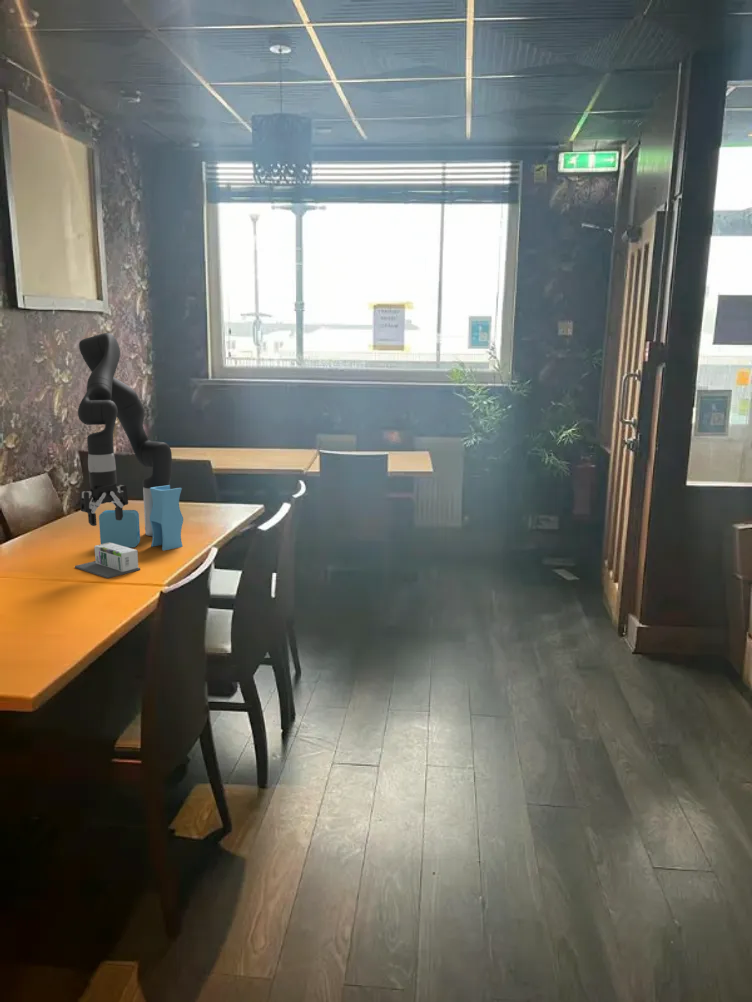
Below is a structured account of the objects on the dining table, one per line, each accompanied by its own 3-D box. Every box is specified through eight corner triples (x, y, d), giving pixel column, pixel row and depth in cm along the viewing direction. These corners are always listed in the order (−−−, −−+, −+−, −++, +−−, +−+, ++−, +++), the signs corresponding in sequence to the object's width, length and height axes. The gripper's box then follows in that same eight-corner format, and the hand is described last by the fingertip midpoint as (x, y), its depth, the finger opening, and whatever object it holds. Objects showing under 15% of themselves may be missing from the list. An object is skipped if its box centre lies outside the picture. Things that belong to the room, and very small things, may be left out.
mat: (74, 567, 222) (74, 565, 221) (107, 560, 230) (107, 558, 230) (107, 578, 211) (107, 576, 211) (140, 569, 220) (140, 567, 220)
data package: (140, 544, 250) (138, 509, 248) (137, 547, 245) (135, 512, 243) (104, 544, 249) (101, 510, 246) (100, 548, 244) (98, 512, 242)
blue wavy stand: (184, 546, 248) (182, 488, 244) (163, 550, 242) (160, 490, 238) (171, 542, 253) (169, 484, 249) (150, 546, 247) (148, 487, 243)
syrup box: (122, 572, 215) (94, 563, 224) (139, 568, 220) (111, 559, 228) (121, 553, 214) (92, 545, 223) (138, 549, 219) (110, 541, 227)
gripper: (115, 464, 223) (119, 516, 226) (72, 470, 211) (77, 525, 215) (131, 467, 218) (134, 520, 222) (87, 473, 207) (92, 529, 210)
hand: (106, 522), depth 218 cm, fingers open, 8 cm apart
